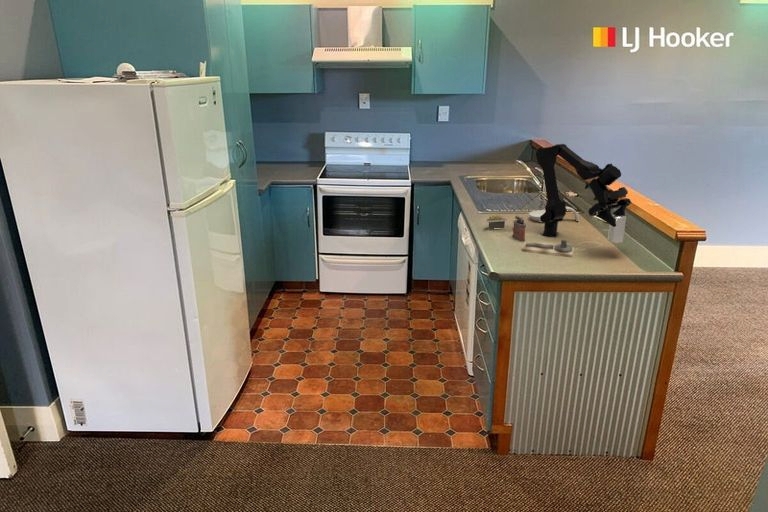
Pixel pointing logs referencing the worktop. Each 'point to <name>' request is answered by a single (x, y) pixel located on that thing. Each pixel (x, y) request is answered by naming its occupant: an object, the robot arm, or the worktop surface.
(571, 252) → the board
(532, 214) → the spoon rest
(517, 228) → the lighter
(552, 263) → the worktop surface
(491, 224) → the platform
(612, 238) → the silver cylindrical piece
